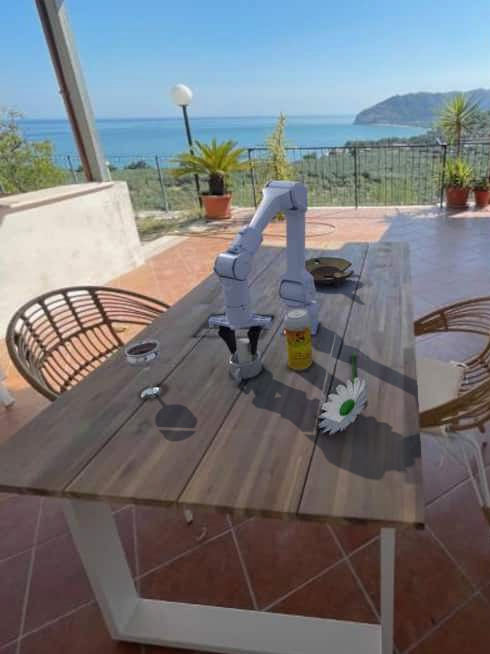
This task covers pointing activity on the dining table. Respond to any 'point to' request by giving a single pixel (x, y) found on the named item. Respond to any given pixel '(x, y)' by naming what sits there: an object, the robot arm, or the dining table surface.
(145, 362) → the wineglass
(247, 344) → the white peg
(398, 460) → the dining table surface
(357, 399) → the flower
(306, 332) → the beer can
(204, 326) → the rubber mat
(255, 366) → the steel mug
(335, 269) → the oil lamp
